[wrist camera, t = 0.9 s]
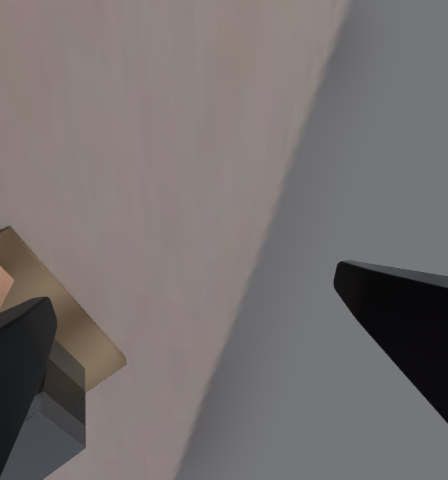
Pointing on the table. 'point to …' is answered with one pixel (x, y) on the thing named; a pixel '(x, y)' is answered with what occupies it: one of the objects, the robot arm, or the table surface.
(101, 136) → the table surface
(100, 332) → the tan board
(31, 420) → the charcoal metal brick
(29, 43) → the table surface
